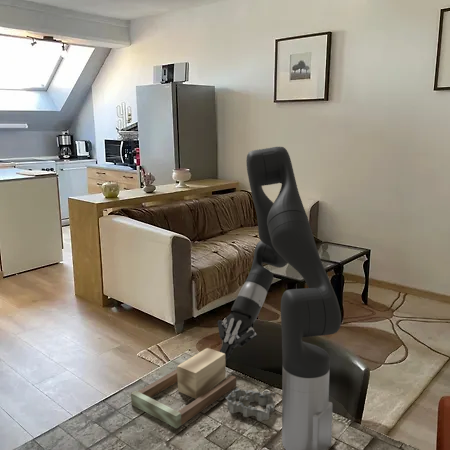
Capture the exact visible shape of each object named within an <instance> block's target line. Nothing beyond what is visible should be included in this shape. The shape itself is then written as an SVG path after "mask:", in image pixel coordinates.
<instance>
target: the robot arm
mask: <svg viewBox="0 0 450 450" xmlns="http://www.w3.org/2000/svg"><path fill="white" fill-rule="evenodd" d="M246 172H247V177H248V184H249V187H250V192H251V198H252V201H253V205H254V209H255V212H256V213H255V214H256V219H257V227H258V228H257V231H258V238H259V241H258V242H257V244H256V245H255V248H254V251H253V260H252V264H251V268H250V271H249V273H248V276H247V277H246V279H245V282H244V284H243V285H242V287H241V289H240V290H239V292H238V294H237V296H236V299H235V300H234V302H233V304H232V306H231V308H230V309H231V310H230V314H229V315H227V316H226V319H223V320H221V319H218V320H217V327H218V335H219V338H220V339H221V340H222V341H223V344H222V346H221V348H220V349H219V352H222V353H225V361H227V360H228V359H229V358H231V356H232V354H233V351H234V350H235V348H237V347H238V348H242V347H244V346H245V345H247V344H248V343H250V342H251V341H252V340H254V339H256V338H257V337H258V333H256V331H255V329H254V325H255V324H254V323H255V322H256V321H257V318H258V316H259V314H260V312H261V309H262V307H263V305H264V303H265V302H266V301H265V300H266V297H267V295H268V292H269V289H270V287H271V285H272V283H273V281H274V274H273V272H271V271H270V270H269V269H267V268H265V266H263V265H264V264H267V265H269V266H271V267H272V266H273V267H275V268H279V269H280V268H284V267H285V266H286V265H287V264H289V265H290V266H291V267H292V268H293V269H294V270H295V271H296V272H298V274H299V275H300V276H301V277H302V278H303V280H304V281H305V283H306V285H307V287H308V288H307V287H306V288H305V287H304V288H291V289H287V290H285V291H284V292H283V294H282V296H281V299H280V323H281V324H280V325H281V350H282V351H281V353H282V378H281V381H282V386H281V387H282V390H281V391H282V393H281V396H282V397H281V402H282V403H281V407H282V408H281V410H282V411H281V444H282V446H283V448H284V449H285V450H328V449H329V448H330V447H331V446H332V435H333V434H332V433H333V406H334V405H333V402H332V401H330V400H329V399H330V398H329V397H330V396H329V394H330V368H331V366H330V365H331V359H330V355H329V353H328V351H326V350H325V349H324V348H322V347H321V346H318V345H316V344H314V343H309V342H307V341H303V338H308V337H319V336H320V337H321V336H329V335H334V334H336V333H338V332H339V331H340V329H341V325H342V313H341V308H340V304H339V300H338V298H337V294H336V292H335V289H334V288H333V285H332V283H331V281H330V278H329V277H328V274H327V272H326V271H327V270H326V269H325V267H324V263H322V262H323V261H322V259H321V257H320V254H319V250H318V248H317V245H316V241H315V238H314V234H313V231H312V230H313V229H312V227H311V224H310V221H309V218H308V214H307V213H306V209H305V206H304V205H303V201H302V199H301V195H300V192H299V189H298V185H297V181H296V176H295V173H294V168H293V164H292V161H291V156H290V154H289V151H288V150H287V149H286V147H284V146H272V147H266V148H261V149H260V148H259V149H254V150H251V151H249V152H248V153H247V155H246ZM277 184H281V185H280V189H279V192H278V195H277V196H276V198H275V200H274V202H273V201H272V200H271V199H270V198H269V197H268V196H267V194H266V193H265V192H264V189H263V187H264V186H271V185H277Z"/></svg>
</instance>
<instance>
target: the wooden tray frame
mask: <svg viewBox="0 0 450 450" xmlns="http://www.w3.org/2000/svg"><path fill="white" fill-rule="evenodd" d="M176 383H178V379H177V368H176V369H174V370H172V371H170V372H169V373H168V374H166V375H164V376H162V377H161V378H158V379H156V380H155V381H153V382H152V383H150V384H148V385H146V386H145V387H142V388H141V389H139V390H134V391H132V392H131V393H130V401H131V405H132V406H134V407H135V408H137V409H139V410H141V411H142V412H145V413H147V414H148V415H150V416H152V417H154V418H156V419H158V420H159V421H161V422H163V423H165V424H167V425H170V427H173V428H175V429H179V428H180V427H181V426H183V425H184V424H185V423H187V422H188V421H189V420H190V419H192V418H193V417H196V416H197V415H198V414H199V413H201V412H203V411H204V410H205V409H207V408H208V407H209V406H211V405H212V404H214V403H215V402H216V401H218V400H219V399H221V398H222V397H224V395H225V396H226V394H227V393H229V392H230V391H233V390H234V388H235V389H236V388H237V377H236V376H234V375H230V376H228V377H226V378H225V379H224V380H222V381H221V382H219V383H218V384H217V385H215V386H214V387H212V388H211V389H210V390H208V391H207V392H206V393H204V394H203V395H201V396H200V397H199V398H197V399H194V400H193V401H191V402H190V403H188V404H187V405H185V406H184V407H182V408H181V409H179V410H176V409H173V408H172V407H170V406H168V405H166V404H164V403H162V402H159V401H158V400H156V399H154V398H153V397H155V396H156V395H157V394H159V393H161V392H163V391H165V390H166V389H168V388H169V387H171V386H173V385H174V384H176Z"/></svg>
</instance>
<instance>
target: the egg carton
mask: <svg viewBox="0 0 450 450" xmlns="http://www.w3.org/2000/svg"><path fill="white" fill-rule="evenodd" d="M276 396H277V393H276V392H274V391H272V390H270V391H269V390H263V391H261V390H257V391H256V390H252V389H241V388H239V387H235V389H232V390H231V392H230V393H228V395H227V396H225V399H226V400H227V401H226V402H227V403H226V405H227V407H226V408H227V410H228V411H229V413H230V414H235V413H241V414H242V417H244V418H249V417H251V416H252V417H255V418H256V421H258V422H262V421H263V420H269V418H270V412H274V411H275V399H276ZM254 402H257V405H259V406H262V407H265V406H266V408H263V409H262V408H261V407H256V406H253V405H250V403H254Z"/></svg>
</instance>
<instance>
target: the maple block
mask: <svg viewBox="0 0 450 450" xmlns="http://www.w3.org/2000/svg"><path fill="white" fill-rule="evenodd" d="M176 369H177V379H178V382H177V392H178V393H181V394H184V395H186V396H188V397H190V398H193V399H194V400H196V399H197V398H199V397H200V396H202V395H203V394H205V393H206V392H208V391H209V390H210V389H212V388H213V387H215V386H216V385H218V384H219V383H221V382H222V381H224V380H225V379H227V376H226V359H225V353H222V352H220V351H219V350H216V349H213V348H210V347H206V348H204V349H203V350H201V351H199V352H197V353H196V354H195V355H193V356H191V357H190V358H188V359H186V360H185V361H183V362H181V363H180V364H178V365H177V366H176Z"/></svg>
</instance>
